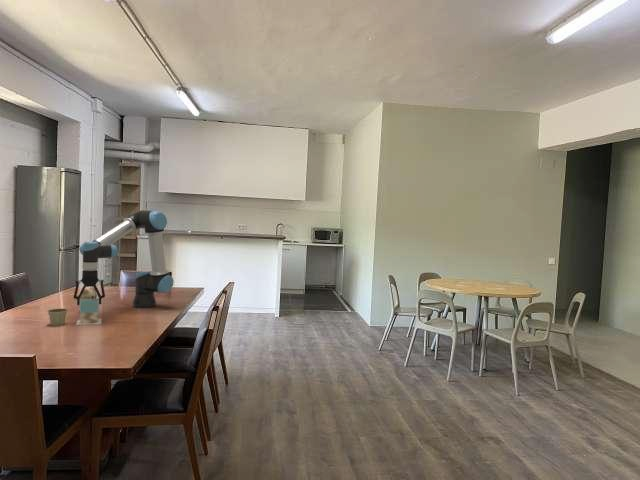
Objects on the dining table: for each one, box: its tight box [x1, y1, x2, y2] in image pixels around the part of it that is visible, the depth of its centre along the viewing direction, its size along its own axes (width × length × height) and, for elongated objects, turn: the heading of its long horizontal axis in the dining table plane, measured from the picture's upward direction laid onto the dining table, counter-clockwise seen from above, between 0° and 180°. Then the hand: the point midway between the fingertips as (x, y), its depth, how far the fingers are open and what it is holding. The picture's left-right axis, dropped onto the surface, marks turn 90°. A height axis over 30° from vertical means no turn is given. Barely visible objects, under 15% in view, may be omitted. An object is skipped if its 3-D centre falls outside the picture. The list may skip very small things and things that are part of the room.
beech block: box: [80, 311, 99, 325], centre depth 245 cm, size 8×8×6 cm
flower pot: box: [47, 308, 69, 327], centre depth 237 cm, size 9×9×9 cm
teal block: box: [80, 298, 98, 314], centre depth 245 cm, size 8×8×6 cm
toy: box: [80, 287, 98, 300], centre depth 272 cm, size 10×8×15 cm
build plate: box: [76, 318, 102, 326], centre depth 245 cm, size 12×12×1 cm
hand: (89, 310), depth 245 cm, fingers closed on teal block, 8 cm apart
